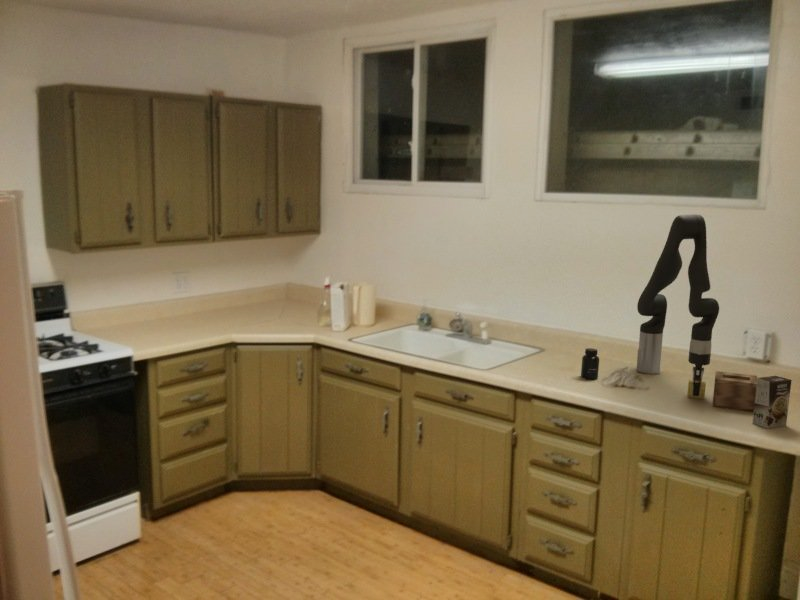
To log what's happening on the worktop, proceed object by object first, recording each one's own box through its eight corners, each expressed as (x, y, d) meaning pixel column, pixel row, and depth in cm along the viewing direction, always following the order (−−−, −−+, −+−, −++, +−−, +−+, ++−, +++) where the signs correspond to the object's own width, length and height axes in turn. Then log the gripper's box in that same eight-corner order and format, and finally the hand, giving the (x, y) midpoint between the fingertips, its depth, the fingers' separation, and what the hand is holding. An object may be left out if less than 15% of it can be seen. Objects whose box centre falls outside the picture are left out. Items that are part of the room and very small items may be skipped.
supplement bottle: (591, 381, 296) (593, 352, 294) (577, 377, 301) (579, 349, 299) (601, 378, 300) (603, 349, 298) (587, 374, 305) (589, 346, 303)
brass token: (687, 396, 277) (688, 381, 276) (687, 395, 279) (688, 379, 278) (704, 399, 275) (705, 383, 274) (704, 397, 277) (705, 382, 276)
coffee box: (767, 429, 243) (773, 382, 240) (751, 423, 249) (756, 377, 246) (787, 425, 247) (792, 379, 244) (771, 419, 252) (775, 374, 250)
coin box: (712, 406, 266) (715, 379, 264) (713, 397, 276) (715, 371, 275) (755, 412, 260) (758, 384, 258) (754, 402, 271) (757, 375, 269)
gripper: (690, 345, 282) (686, 386, 285) (688, 353, 269) (684, 396, 272) (711, 348, 279) (707, 389, 282) (710, 356, 266) (706, 399, 269)
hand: (696, 392), depth 277 cm, fingers open, 8 cm apart
